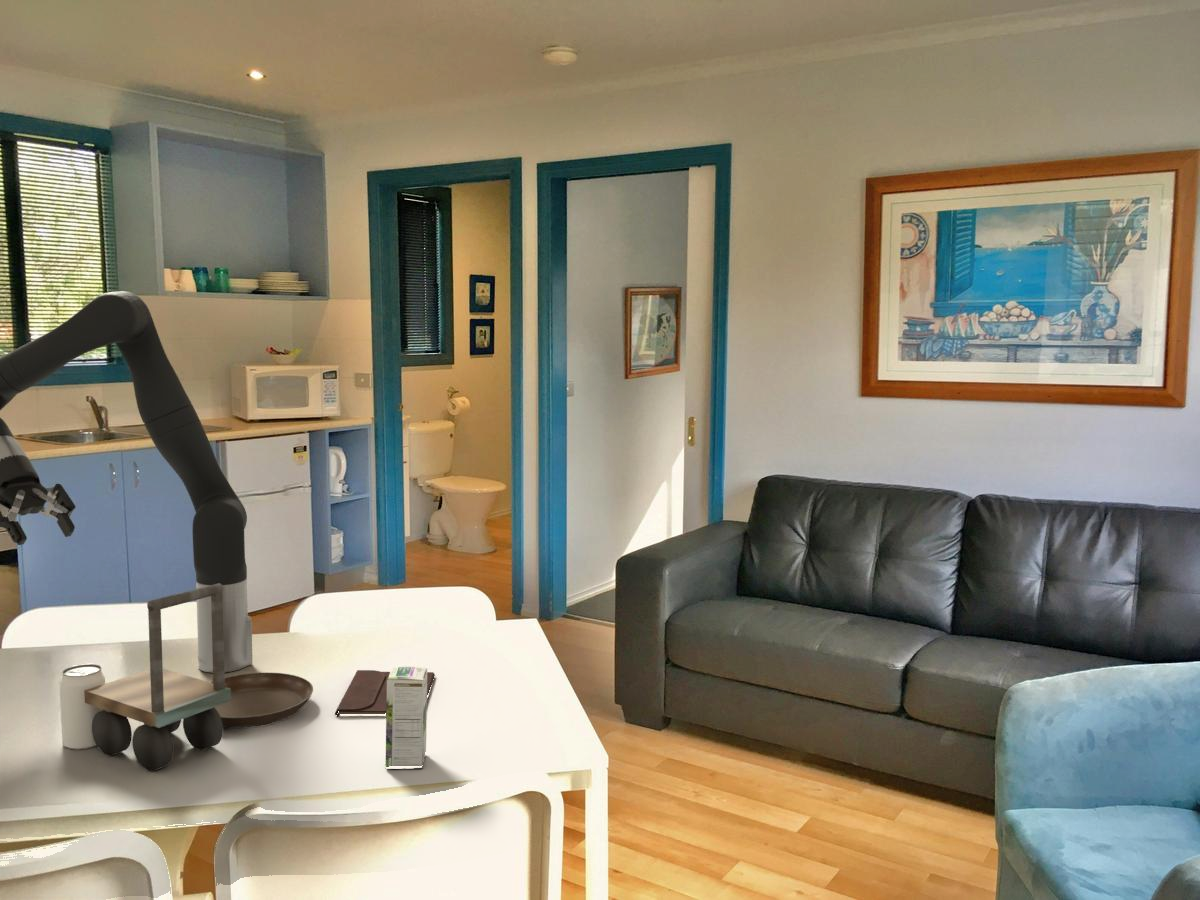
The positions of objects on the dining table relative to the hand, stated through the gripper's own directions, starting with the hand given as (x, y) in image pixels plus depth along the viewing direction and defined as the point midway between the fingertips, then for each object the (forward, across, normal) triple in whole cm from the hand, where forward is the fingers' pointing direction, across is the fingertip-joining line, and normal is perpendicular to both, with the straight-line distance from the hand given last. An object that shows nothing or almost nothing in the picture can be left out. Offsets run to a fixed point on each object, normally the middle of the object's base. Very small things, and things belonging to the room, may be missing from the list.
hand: (47, 538), depth 181 cm
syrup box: (+70, +13, -29) cm, 77 cm away
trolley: (+45, -5, -5) cm, 46 cm away
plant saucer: (+45, +15, -3) cm, 47 cm away
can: (+37, -9, +4) cm, 38 cm away
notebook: (+55, +33, -14) cm, 66 cm away
